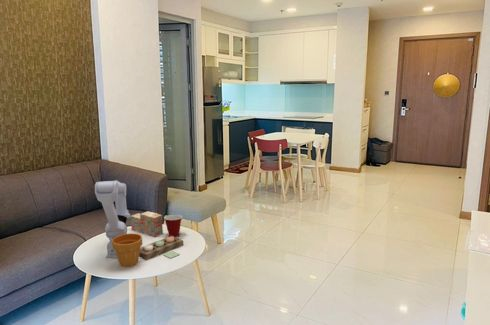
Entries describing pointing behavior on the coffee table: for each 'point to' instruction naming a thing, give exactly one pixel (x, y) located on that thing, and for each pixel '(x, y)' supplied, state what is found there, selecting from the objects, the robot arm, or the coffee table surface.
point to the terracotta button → (170, 239)
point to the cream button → (148, 248)
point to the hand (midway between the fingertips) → (122, 227)
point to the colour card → (171, 254)
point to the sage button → (159, 243)
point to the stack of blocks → (147, 223)
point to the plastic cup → (173, 224)
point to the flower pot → (127, 248)
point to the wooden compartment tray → (160, 248)
